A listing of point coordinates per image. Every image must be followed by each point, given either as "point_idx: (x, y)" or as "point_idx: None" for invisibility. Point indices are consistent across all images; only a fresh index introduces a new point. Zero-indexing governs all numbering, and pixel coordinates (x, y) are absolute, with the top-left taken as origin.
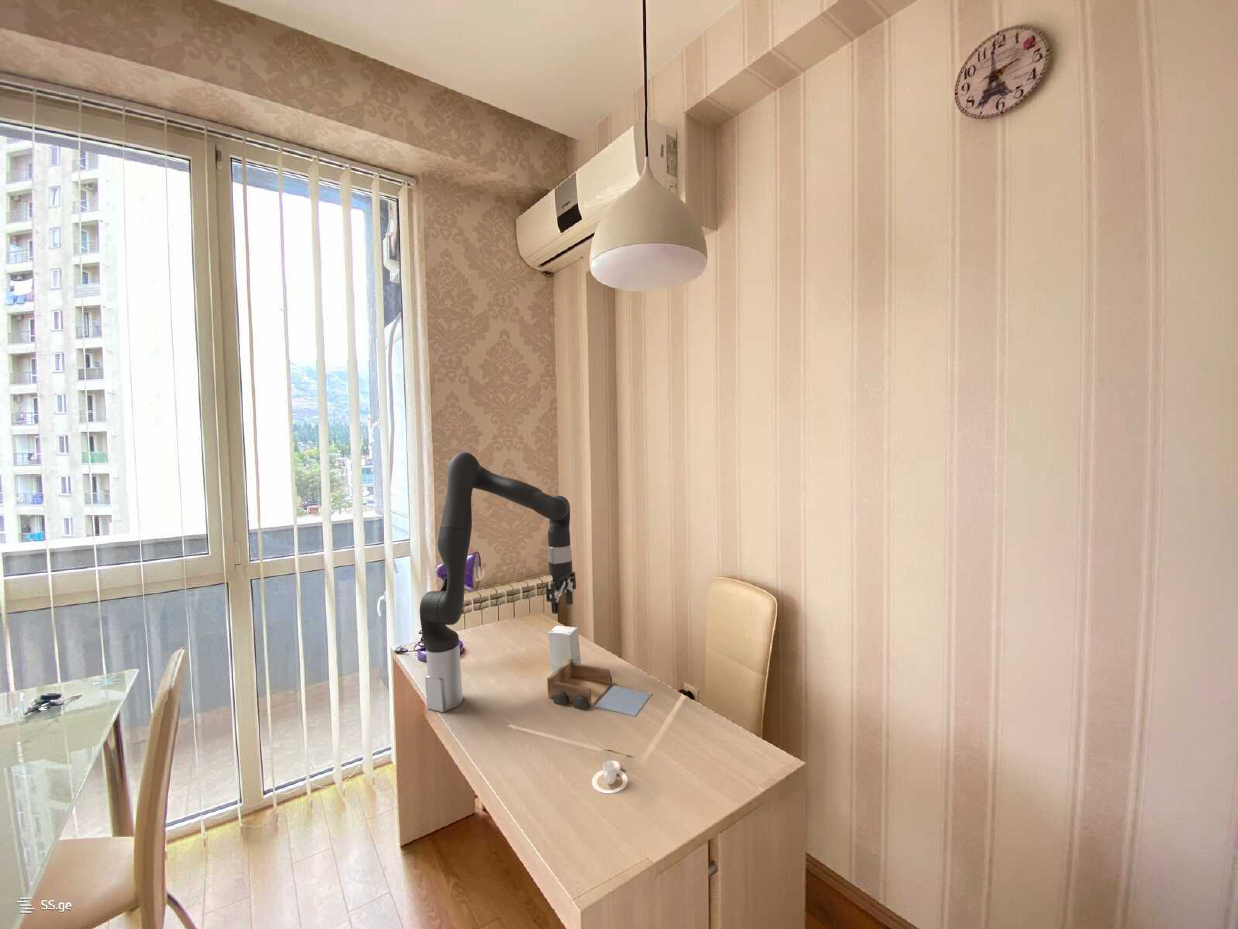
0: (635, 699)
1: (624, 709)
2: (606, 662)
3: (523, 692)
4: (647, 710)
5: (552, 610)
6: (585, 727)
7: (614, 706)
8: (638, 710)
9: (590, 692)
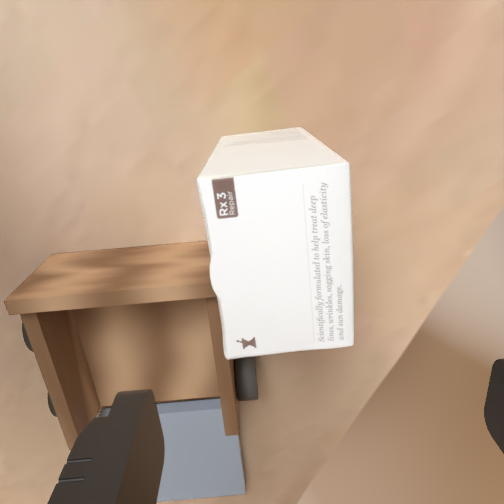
0: (196, 478)
1: None
2: (413, 277)
3: (36, 113)
4: None
5: (77, 453)
6: (23, 420)
7: None
8: None
9: None
